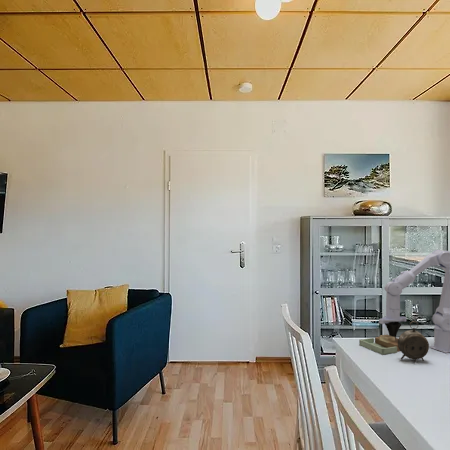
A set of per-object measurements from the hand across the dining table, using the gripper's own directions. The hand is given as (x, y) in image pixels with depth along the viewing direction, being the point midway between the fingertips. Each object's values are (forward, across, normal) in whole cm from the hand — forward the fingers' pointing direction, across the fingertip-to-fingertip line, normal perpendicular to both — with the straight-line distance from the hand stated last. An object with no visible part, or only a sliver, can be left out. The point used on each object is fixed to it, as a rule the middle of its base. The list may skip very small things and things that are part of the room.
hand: (392, 338), depth 170 cm
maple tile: (+1, +3, 0) cm, 3 cm away
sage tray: (+4, +9, 0) cm, 10 cm away
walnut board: (+4, 0, 0) cm, 4 cm away
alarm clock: (+4, +7, +17) cm, 19 cm away
